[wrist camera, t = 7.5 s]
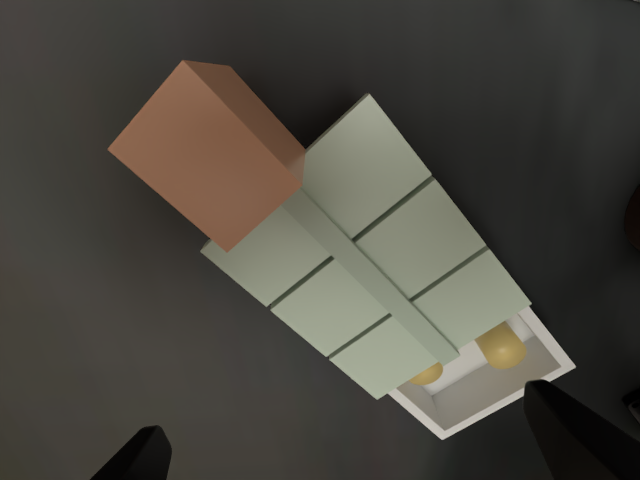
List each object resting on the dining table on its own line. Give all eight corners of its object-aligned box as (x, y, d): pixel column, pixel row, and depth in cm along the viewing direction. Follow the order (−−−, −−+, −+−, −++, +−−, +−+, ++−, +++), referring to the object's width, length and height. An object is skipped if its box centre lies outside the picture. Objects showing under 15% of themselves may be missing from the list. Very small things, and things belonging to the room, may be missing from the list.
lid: (522, 294, 17) (599, 373, 12) (374, 387, 19) (393, 481, 15) (291, -4, 12) (278, -55, 7) (128, 178, 14) (42, 225, 10)
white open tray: (542, 329, 22) (576, 367, 20) (426, 397, 25) (441, 440, 22) (438, 198, 18) (462, 221, 16) (313, 294, 21) (314, 329, 18)
